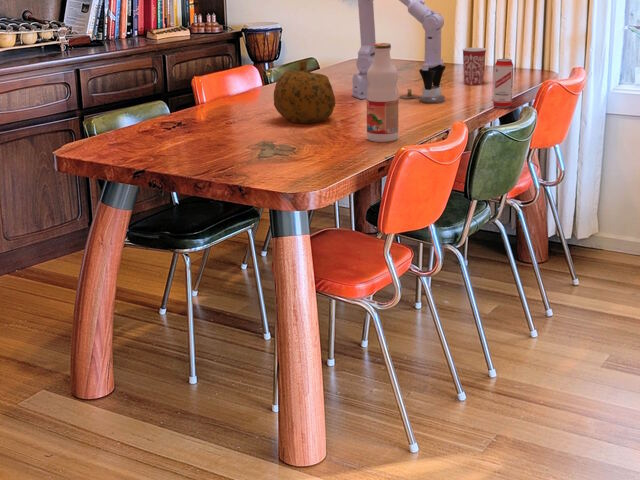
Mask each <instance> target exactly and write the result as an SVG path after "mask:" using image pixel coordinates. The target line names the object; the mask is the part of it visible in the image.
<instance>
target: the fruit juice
mask: <svg viewBox="0 0 640 480" xmlns="http://www.w3.org/2000/svg"><path fill="white" fill-rule="evenodd" d="M391 49H392V46H391V43H388V42H380V43H379V42H378V43H377V42H376V44H374V50H375V57H374V60H373V63H372V65H371V66H370V67H369V69H368V71H367V80H368V83H369V86H368V89H367V97H366V138H367V140H368V141H371V142H376V143H378V142H379V143H387V142H388V143H389V142H394V141H397V140H398V139H399V99H400V95H399V88H398V86H397V83H398V78H399V72H398V69H397V67H396V66H395V65H394V63H393V61H392V57H391Z"/></svg>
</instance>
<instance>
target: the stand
mask: <svg viewBox="0 0 640 480" xmlns="http://www.w3.org/2000/svg"><path fill="white" fill-rule="evenodd" d="M399 99H402V100H417V99H420V95H419V94H412V89H411V88H408V89H407V94H406V93H405V94H401V95H399Z"/></svg>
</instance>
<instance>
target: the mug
mask: <svg viewBox="0 0 640 480" xmlns="http://www.w3.org/2000/svg"><path fill="white" fill-rule="evenodd" d="M486 53H487V49H486V48H485V47H484V48H483V47H466V48H463V49H462V58H463V59H462V63H463V84H464V85H466V86H481V85H483V83H484V82H483V81H484V72H485V63H486V62H485V60H486Z"/></svg>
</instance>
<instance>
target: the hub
mask: <svg viewBox="0 0 640 480" xmlns="http://www.w3.org/2000/svg"><path fill="white" fill-rule="evenodd" d="M445 101H446V96H445V95H442V94H441V96H440V97H438V98H436V99H435V98H422V95H419V103H423V104H440V103H441V104H442V103H444V102H445Z"/></svg>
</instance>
